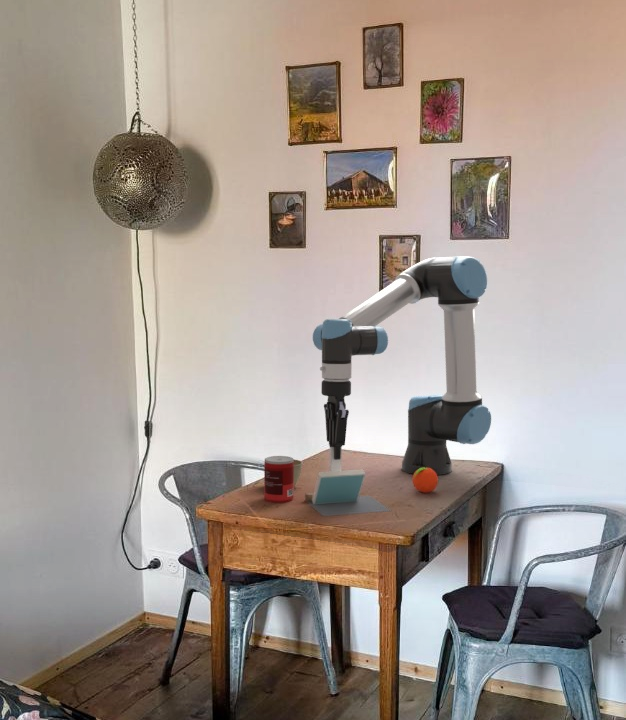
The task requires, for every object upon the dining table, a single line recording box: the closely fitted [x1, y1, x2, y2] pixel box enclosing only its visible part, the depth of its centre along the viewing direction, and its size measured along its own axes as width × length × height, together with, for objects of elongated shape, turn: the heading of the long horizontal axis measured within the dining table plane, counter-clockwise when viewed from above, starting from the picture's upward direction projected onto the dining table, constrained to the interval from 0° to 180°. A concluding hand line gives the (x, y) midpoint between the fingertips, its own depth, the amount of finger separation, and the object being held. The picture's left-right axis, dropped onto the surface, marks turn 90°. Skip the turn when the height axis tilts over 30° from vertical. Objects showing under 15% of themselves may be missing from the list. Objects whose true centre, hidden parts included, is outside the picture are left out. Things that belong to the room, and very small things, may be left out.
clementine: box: [412, 467, 439, 494], centre depth 226 cm, size 8×7×7 cm
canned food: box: [263, 455, 295, 504], centre depth 217 cm, size 8×8×11 cm
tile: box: [312, 469, 366, 504], centre depth 211 cm, size 12×2×10 cm
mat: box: [307, 495, 393, 517], centre depth 211 cm, size 18×16×1 cm
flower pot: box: [293, 458, 303, 487], centre depth 231 cm, size 10×10×7 cm
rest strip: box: [304, 492, 314, 504], centre depth 216 cm, size 14×2×2 cm, turn 107°
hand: (335, 471), depth 213 cm, fingers closed
